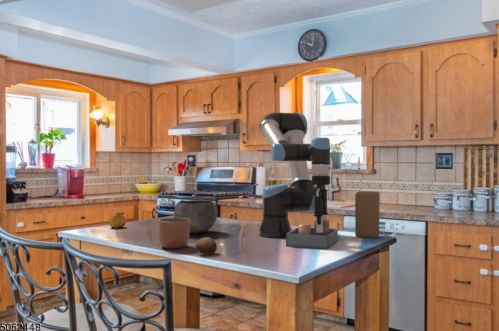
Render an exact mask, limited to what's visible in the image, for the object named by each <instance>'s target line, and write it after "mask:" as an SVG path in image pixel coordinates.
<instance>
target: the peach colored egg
mask: <svg viewBox="0 0 499 331" xmlns="http://www.w3.org/2000/svg"><path fill="white" fill-rule="evenodd" d="M298 227H299V234H303V235H311V228H312V226H311V224H309V223H299V224H298Z"/></svg>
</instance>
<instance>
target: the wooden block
mask: <svg viewBox="0 0 499 331" xmlns="http://www.w3.org/2000/svg"><path fill="white" fill-rule="evenodd" d="M354 196H355V199H354V200H355V201H354V202H355V203H354V204H355V205H354V207H355V209H354V210H355V211H354V213H355V214H354V216H355V217H354V218H355V221H354V223H355V225H354V226H355V228H354V230H355V231H354V232H355V237H356V238H365V239H367V238H369V239H370V238H371V239H378V238H379V235H380V193H379V192H378V191H359V190H358V191H357V192H356V193H355V194H354Z"/></svg>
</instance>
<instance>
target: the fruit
mask: <svg viewBox="0 0 499 331" xmlns="http://www.w3.org/2000/svg"><path fill="white" fill-rule="evenodd" d="M108 222H109V226H110V227H111V228H112V227H113V228H112V229H120V228H119V227H122V228H123V227H125V226H126V223H127V220H126V216H124V215H123V214H122V213H121V212H115V213H114V214H112V215H111V216H110V218H109V221H108Z"/></svg>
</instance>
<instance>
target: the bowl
mask: <svg viewBox="0 0 499 331" xmlns="http://www.w3.org/2000/svg"><path fill="white" fill-rule="evenodd" d="M217 217H218V210H217V207H216V204H215V202H214V201H212V200H206V199H201V200H200V199H199V200H198V199H197V200H195V199H194V200H192V199H191V200H190V199H189V200H180V201H178V202H177V203H176V204H175V207H174V210H173V218H187V219H190V231H189V234H203V233H205V232H207V231H209V230H210V229H212V227H213V226H214V225H215V223H216V221H217Z"/></svg>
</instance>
